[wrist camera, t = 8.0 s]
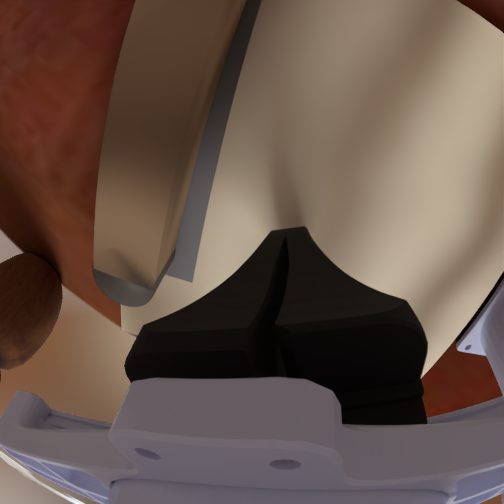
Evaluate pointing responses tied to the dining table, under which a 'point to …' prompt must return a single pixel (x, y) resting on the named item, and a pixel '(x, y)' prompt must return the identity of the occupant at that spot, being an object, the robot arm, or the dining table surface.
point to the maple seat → (354, 155)
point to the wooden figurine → (26, 307)
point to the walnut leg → (155, 138)
